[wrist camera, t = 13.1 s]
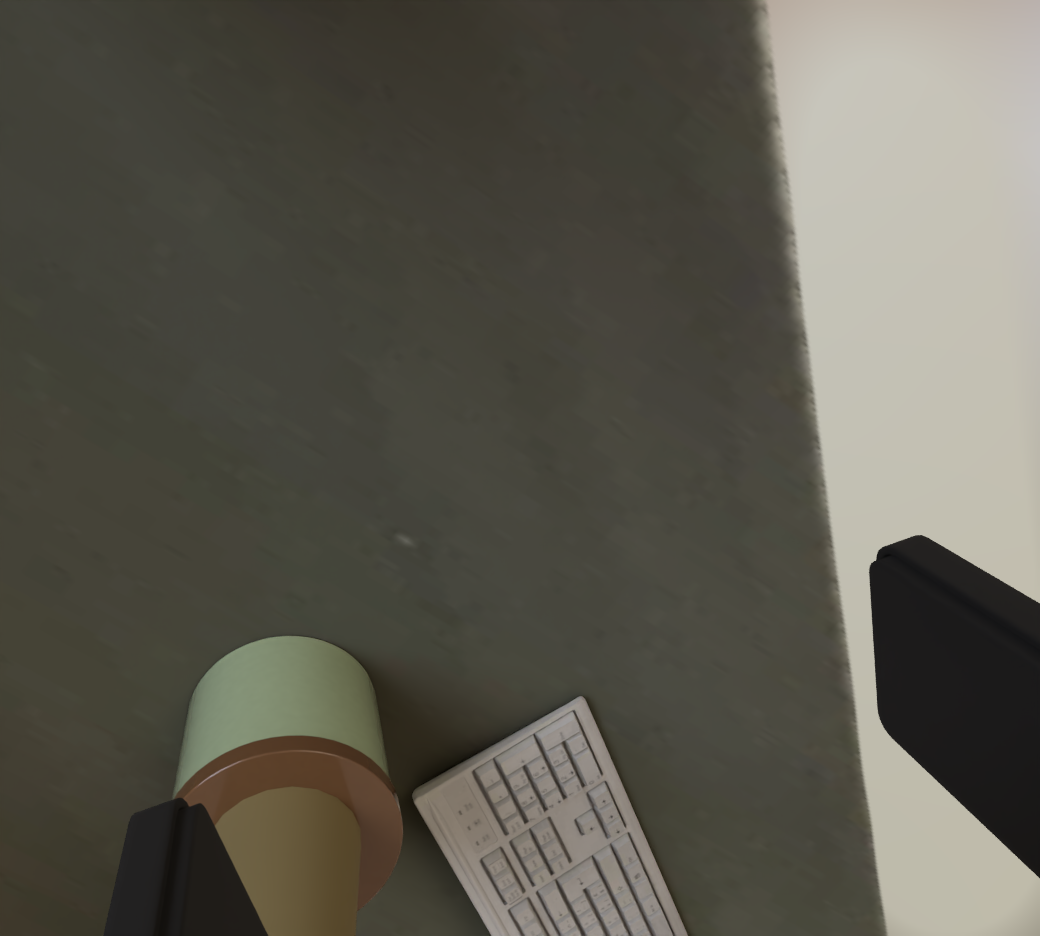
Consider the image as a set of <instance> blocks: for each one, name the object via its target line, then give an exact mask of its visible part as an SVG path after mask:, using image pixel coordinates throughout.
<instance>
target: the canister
mask: <svg viewBox="0 0 1040 936" xmlns="http://www.w3.org/2000/svg"><path fill="white" fill-rule="evenodd" d="M292 786H293V787H302V788H311V789H318V790H320V791H322V792H325V793H327V794H329V795H332V796H334V797H337V798H338V799H339V800H340V801H341V802H343V803H344V804H345V805H346V806H347V807H348V808H349V809H350V810H351V811H352V812H353V814H354V816H355V818H356V820H357V822H358V824H359V826H360V829H361V857H360V872H359V887H358V903H357V911H358V910H360V909H361V908H362V907H364V906H365V905H366V904H367V903H368V902H369V901H370V900H371V899H372V898H373V897H374V896H375V895H376V894H377V893H378V892H379V890H380V889H381V888H382V887H383V886H384V884H385V883H386V881H387V880H388V878H389V877H390V875H391V873H392V871H393V869H394V867H395V865H396V863H397V860H398V857H399V854H400V851H401V846H402V840H403V823H402V817H401V811H400V806H399V800H398V797H397V794H396V791H395V788H394V786H393V785H392V783H391V781H390V776H389V770H388V764H387V759H386V753H385V747H384V741H383V735H382V729H381V723H380V717H379V712H378V706H377V700H376V694H375V690H374V687H373V684H372V681H371V680H370V678H369V676H368V674H367V672H366V671H365V670H364V668H363V667H362V666H361V664H360V663H359V662H358V661H357V660H355V659H354V658H353V657H352V656H351V655H349V654H348V653H347V652H345V651H344V650H342V649H340V648H339V647H337V646H335V645H333V644H330V643H328V642H325V641H322V640H318V639H314V638H310V637H302V636H279V637H271V638H266V639H261V640H258V641H255V642H252V643H249V644H247V645H244V646H242V647H240V648H238V649H236V650H234V651H233V652H231V653H229V654H228V655H226V656H225V657H223V658H222V659H221V660H219V661H218V662H217V663H216V664H215V665H214V666H213V667H212V668H211V669H210V670H209V671H208V672H207V673H206V674H205V675H204V677H203V678H202V679H201V680H200V682H199V684H198V685H197V687H196V689H195V691H194V693H193V695H192V698H191V700H190V704H189V709H188V713H187V719H186V724H185V730H184V735H183V741H182V747H181V752H180V758H179V763H178V769H177V774H176V780H175V786H174V791H173V797H172V800H174V799H176V798H183V799H184V800H185V801H186V802H187V803H188V805H189V807H190V806H193V805H195V804H198V803H202V804H203V805H204V806H205V808H206V810H207V811H208V813H209V815H210V817H211V820H212V822H213V824H214V826H215V825H216V823H217V822H218V821H219V819H220V818H221V817H222V815H223V814H225V813H226V812H227V811H229V810H230V809H231V808H233V807H234V806H235V805H237V804H238V803H239V802H241V801H242V800H244V799H246V798H249V797H251V796H254V795H256V794H258V793H261V792H263V791H266V790H271V789H278V788H285V787H292Z"/></svg>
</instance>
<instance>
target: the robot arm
mask: <svg viewBox="0 0 1040 936" xmlns="http://www.w3.org/2000/svg"><path fill="white" fill-rule="evenodd" d="M869 574H870V591H871V608H872V624H873V641H874V655H875V673H876V688H877V706H878V714H879V717H880V720H881V723H882V725H883V727H884V728H885V730H886V731H887V733H888V734H889V735H890V736H891V737H892V739H894V740H895V741H896V742H897V743H898V744H899V745H900V746H901V747H902V748H903V749H904V750H905V751H906V752H907V753H908V754H909V755H911V756H912V758H914V759H915V760H916V761H917V762H918V763H919V764H920V765H921V766H922V767H923V768H924V769H925V770H926V771H927V772H928V773H929V774H931V775H932V776H933V777H934V778H935V779H936V780H937V781H938V782H939V783H940V784H941V785H942V786H943V787H944V788H945V789H946V790H948V792H950V794H951V795H953V796H954V797H955V798H956V799H957V800H958V801H959V802H960V803H961V804H962V805H963V806H964V807H965V808H966V809H967V810H968V811H969V812H970V813H972V814H973V815H974V816H975V817H976V818H977V819H978V820H979V821H980V822H981V823H982V824H983V825H984V826H986V828H987V829H988V830H990V832H992V833H993V834H994V835H995V836H996V837H997V838H998V839H999V840H1000V841H1001V842H1002V843H1003V844H1004V845H1005V846H1006V847H1007V848H1008V849H1010V850H1011V851H1012V852H1013V853H1014V854H1015V855H1016V856H1017V857H1018V858H1019V859H1020V860H1021V861H1022V862H1023V863H1024V864H1025V865H1026V866H1027V867H1028V868H1029V869H1031V870H1032V871H1033V872H1034V873H1035V874H1036V875H1037V876H1038V877H1039V878H1040V603H1038V602H1036V601H1035V600H1033V599H1031V598H1029V597H1027V596H1026V595H1024V594H1023V593H1021V592H1019V591H1017V590H1016V589H1014V588H1012V587H1011V586H1009V585H1007V584H1006V583H1004V582H1002V581H1000V580H999V579H997V578H995V577H994V576H992V575H990V574H989V573H987V572H985V571H983V570H982V569H980V568H978V567H977V566H975V565H973V564H972V563H970V562H968V561H966V560H965V559H963V558H961V557H960V556H958V555H956V554H954V553H953V552H951V551H949V550H948V549H946V548H944V547H943V546H941V545H939V544H938V543H936V542H934V541H932V540H931V539H929V538H927V537H925V536H922V535H917V536H913V537H910V538H907V539H905V540H902V541H899V542H896V543H893V544H890V545H888V546H885V547H882V548H881V549H880V550H879V551H878V554H877V559H876V561H874V562H873V563H871V565H870V570H869ZM103 936H268V934H267V932H266V930H265V928H264V926H263V924H262V922H261V920H260V918H259V916H258V913H257V911H256V909H255V907H254V905H253V903H252V901H251V899H250V897H249V895H248V893H247V891H246V889H245V887H244V885H243V883H242V881H241V879H240V877H239V875H238V873H237V871H236V869H235V866H234V864H233V862H232V860H231V858H230V856H229V854H228V852H227V850H226V848H225V846H224V844H223V842H222V840H221V838H220V836H219V834H218V832H217V830H216V828H215V826H214V824H213V822H212V820H211V817H210V815H209V813H208V811H207V810H206V808H205V806H204V805H203V804H202V803H198V804H195V805H193V806H190V807H189V805H188V803H187V802H186V801H185V800H184V799H183V798H176V799H174V800H171V801H168V802H165V803H162V804H160V805H157V806H154V807H151V808H148V809H145V810H143V811H140V812H137V813H135V814H134V815H132V816H131V819H130V821H129V825H128V829H127V834H126V838H125V842H124V847H123V851H122V856H121V860H120V864H119V869H118V873H117V878H116V882H115V887H114V891H113V895H112V900H111V904H110V909H109V913H108V918H107V922H106V926H105V931H104V935H103Z"/></svg>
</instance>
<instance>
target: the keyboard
mask: <svg viewBox="0 0 1040 936" xmlns="http://www.w3.org/2000/svg"><path fill="white" fill-rule="evenodd" d="M412 798H413V801H414V803H415V805H416V807H417V809H418V810H419V812H420V814H421V816H422V817H423V819H424V821H425V822H426V824H427V826H428V828H429V829H430V831H431V833H432V834H433V836H434V838H435V840H436V841H437V843H438V845H439V846H440V848H441V850H442V852H443V853H444V855H445V857H446V858H447V860H448V862H449V864H450V865H451V867H452V869H453V870H454V872H455V874H456V876H457V877H458V879H459V881H460V882H461V884H462V886H463V888H464V889H465V891H466V893H467V894H468V896H469V898H470V900H471V901H472V903H473V905H474V906H475V908H476V910H477V911H478V913H479V915H480V917H481V918H482V920H483V922H484V923H485V925H486V927H487V929H488V930H489V932H490V934H491V935H492V936H688V935H687V932H686V930H685V928H684V925H683V923H682V921H681V919H680V916H679V914H678V912H677V909H676V907H675V905H674V902H673V900H672V898H671V896H670V893H669V891H668V889H667V886H666V884H665V882H664V879H663V877H662V875H661V873H660V870H659V868H658V866H657V863H656V861H655V859H654V856H653V854H652V852H651V849H650V847H649V845H648V843H647V840H646V838H645V836H644V833H643V831H642V829H641V826H640V824H639V822H638V820H637V817H636V815H635V813H634V810H633V808H632V806H631V803H630V801H629V799H628V797H627V794H626V792H625V790H624V787H623V785H622V783H621V780H620V778H619V776H618V774H617V771H616V769H615V767H614V764H613V762H612V760H611V757H610V755H609V753H608V750H607V748H606V746H605V744H604V741H603V739H602V737H601V734H600V732H599V730H598V727H597V725H596V723H595V721H594V718H593V716H592V714H591V711H590V709H589V707H588V704H587V702H586V700H585V698H584V697H582V696H579V697H577V698H576V699H574V700H573V701H571V702H569V703H567V704H566V705H564V706H562V707H560V708H558V709H557V710H555V711H553V712H551V713H550V714H548V715H546V716H544V717H542V718H541V719H539V720H537V721H535V722H533V723H532V724H530V725H528V726H526V727H525V728H523V729H521V730H519V731H517V732H516V733H514V734H512V735H510V736H508V737H507V738H505V739H503V740H501V741H500V742H498V743H496V744H494V745H492V746H491V747H489V748H487V749H485V750H484V751H482V752H480V753H478V754H476V755H475V756H473V757H471V758H469V759H467V760H466V761H464V762H462V763H460V764H459V765H457V766H455V767H453V768H451V769H450V770H448V771H446V772H444V773H443V774H441V775H439V776H437V777H435V778H434V779H432V780H430V781H428V782H426V783H425V784H423V785H421V786H419V787H418V788H416V789H415V790H414V792H413V794H412Z"/></svg>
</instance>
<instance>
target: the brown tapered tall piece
mask: <svg viewBox="0 0 1040 936" xmlns="http://www.w3.org/2000/svg"><path fill="white" fill-rule="evenodd" d="M215 828H216V830H217V832H218V834H219V836H220V838H221V840H222V842H223V844H224V846H225V848H226V850H227V852H228V854H229V856H230V858H231V860H232V862H233V864H234V866H235V869H236V871H237V873H238V875H239V877H240V879H241V881H242V883H243V885H244V887H245V889H246V891H247V893H248V895H249V897H250V899H251V901H252V903H253V905H254V907H255V909H256V911H257V913H258V916H259V918H260V920H261V922H262V924H263V926H264V928H265V930H266V932H267V934H268V936H355V933H356V918H357V903H358V887H359V872H360V857H361V829H360V826H359V824H358V822H357V820H356V818H355V816H354V814H353V812H352V811H351V810H350V809H349V808H348V807H347V806H346V805H345V804H344V803H343V802H341V801H340V800H339V799H338V798H337V797H334V796H332V795H329V794H327V793H325V792H322V791H320V790H318V789H311V788H302V787H293V786H292V787H285V788H278V789H271V790H266V791H263V792H261V793H258V794H256V795H254V796H251V797H249V798H246V799H244V800H242V801H241V802H239V803H238V804H237V805H235V806H234V807H233V808H231V809H230V810H229V811H227V812H226V813H225V814H223V815H222V817H221V818H220V819H219V821H218V822H217V823H216V825H215Z"/></svg>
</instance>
